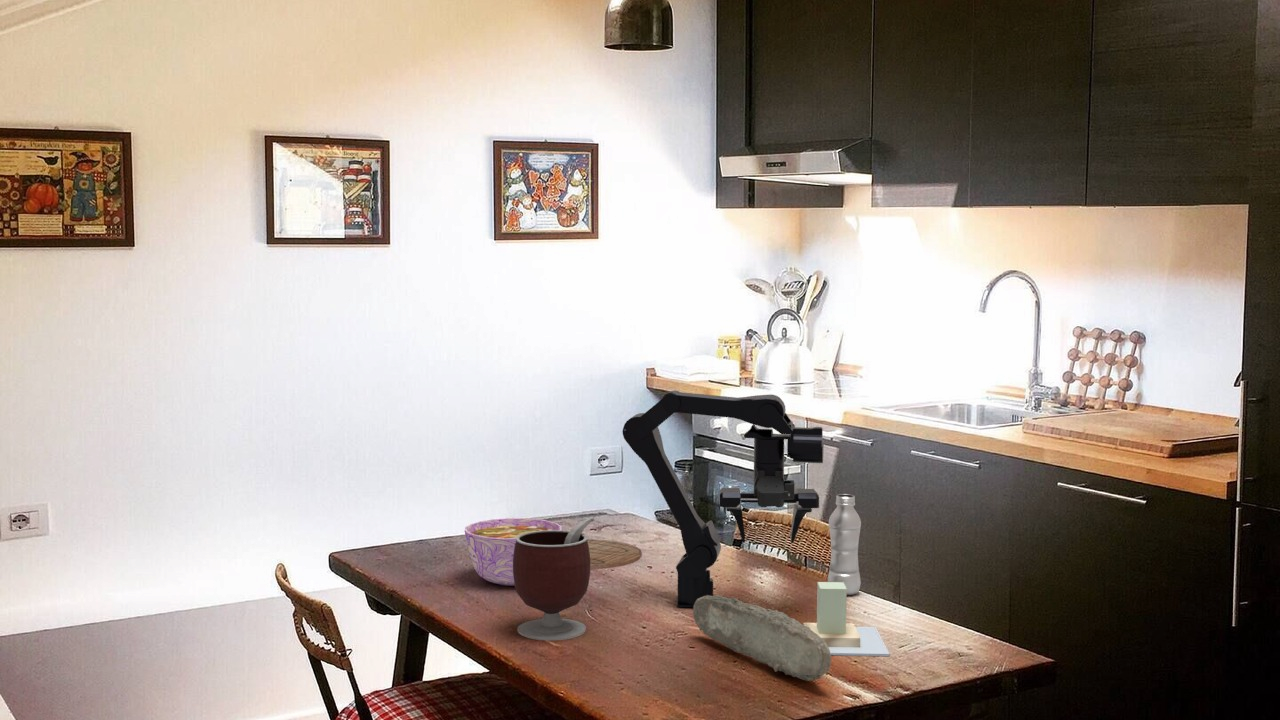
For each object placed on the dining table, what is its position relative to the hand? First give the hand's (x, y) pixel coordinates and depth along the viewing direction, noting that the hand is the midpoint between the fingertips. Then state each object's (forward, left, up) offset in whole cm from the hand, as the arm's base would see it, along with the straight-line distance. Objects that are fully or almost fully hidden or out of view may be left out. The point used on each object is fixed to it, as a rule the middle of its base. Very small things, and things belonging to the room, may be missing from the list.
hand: (767, 542), depth 247 cm
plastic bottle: (+16, +12, -13) cm, 24 cm away
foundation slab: (+10, -20, -13) cm, 26 cm away
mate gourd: (-39, -16, -13) cm, 44 cm away
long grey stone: (-3, -33, -13) cm, 36 cm away
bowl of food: (-51, +17, -13) cm, 55 cm away
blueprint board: (+10, -20, -13) cm, 26 cm away
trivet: (-38, +39, -14) cm, 56 cm away
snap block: (+10, -20, -11) cm, 25 cm away
